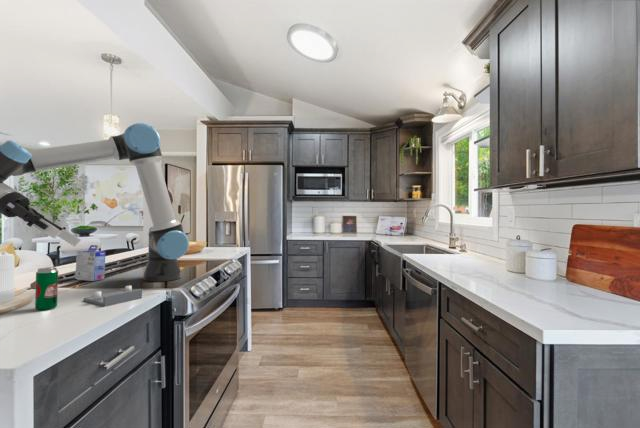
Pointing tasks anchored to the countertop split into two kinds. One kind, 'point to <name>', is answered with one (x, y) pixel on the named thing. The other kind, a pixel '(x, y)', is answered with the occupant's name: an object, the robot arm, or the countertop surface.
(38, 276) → the soda can
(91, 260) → the ink cartridge box
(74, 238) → the robot arm
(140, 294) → the dock
